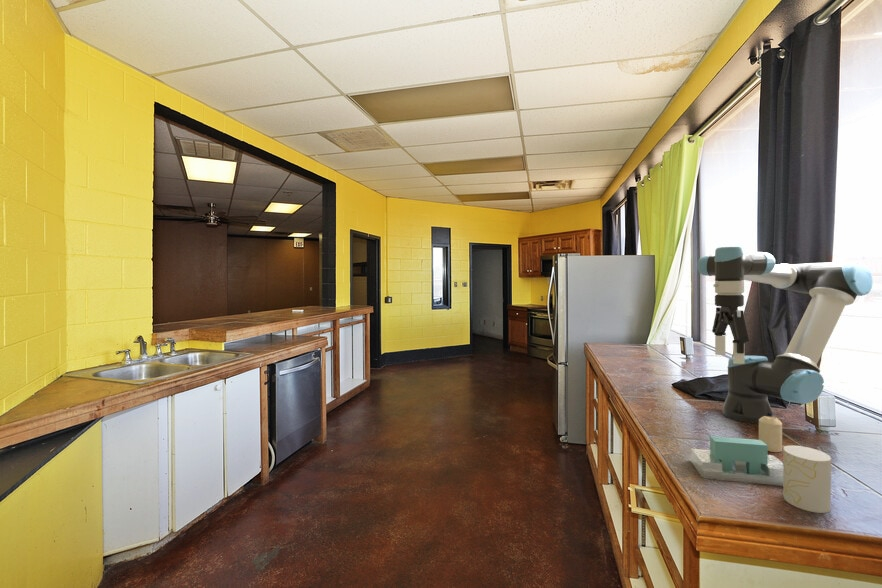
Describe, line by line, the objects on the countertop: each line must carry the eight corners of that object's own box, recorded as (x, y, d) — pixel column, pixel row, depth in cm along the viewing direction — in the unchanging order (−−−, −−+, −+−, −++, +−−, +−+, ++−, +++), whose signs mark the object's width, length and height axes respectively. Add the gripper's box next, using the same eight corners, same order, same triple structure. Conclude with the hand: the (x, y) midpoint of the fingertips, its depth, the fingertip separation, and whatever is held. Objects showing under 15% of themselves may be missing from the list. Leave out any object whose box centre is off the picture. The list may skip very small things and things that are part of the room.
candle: (776, 445, 120) (776, 414, 120) (785, 453, 115) (786, 420, 115) (755, 443, 122) (755, 413, 122) (763, 451, 117) (763, 419, 116)
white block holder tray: (771, 468, 107) (771, 454, 107) (793, 487, 97) (793, 471, 97) (690, 460, 112) (690, 447, 112) (703, 477, 103) (702, 463, 103)
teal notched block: (760, 468, 105) (760, 440, 104) (767, 475, 101) (767, 445, 101) (710, 463, 108) (710, 436, 108) (715, 469, 105) (715, 441, 105)
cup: (774, 494, 95) (774, 446, 94) (804, 491, 95) (804, 444, 95) (808, 514, 86) (808, 462, 86) (840, 511, 87) (841, 459, 87)
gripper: (701, 292, 137) (701, 351, 138) (732, 296, 113) (732, 367, 114) (725, 292, 135) (725, 351, 136) (763, 295, 111) (763, 368, 112)
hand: (729, 359), depth 125 cm, fingers open, 13 cm apart
